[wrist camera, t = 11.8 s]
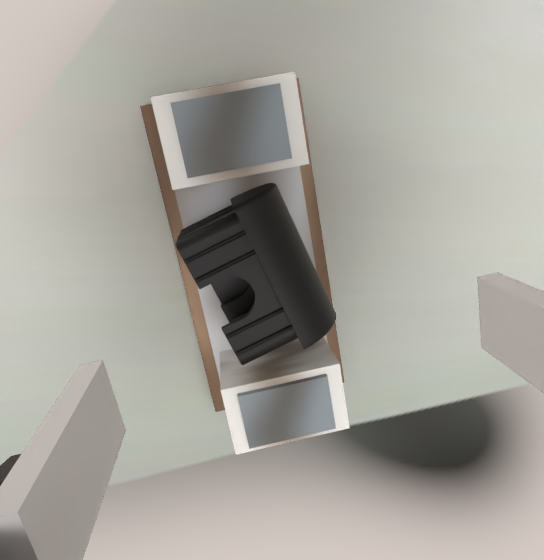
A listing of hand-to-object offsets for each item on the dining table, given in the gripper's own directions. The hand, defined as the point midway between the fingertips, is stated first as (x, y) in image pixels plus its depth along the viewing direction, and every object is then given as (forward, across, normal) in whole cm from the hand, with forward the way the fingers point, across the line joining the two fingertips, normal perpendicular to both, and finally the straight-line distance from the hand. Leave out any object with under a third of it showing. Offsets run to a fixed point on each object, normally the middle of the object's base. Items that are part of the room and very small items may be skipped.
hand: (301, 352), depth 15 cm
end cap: (+19, 0, -1) cm, 19 cm away
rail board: (+21, 0, -1) cm, 21 cm away
